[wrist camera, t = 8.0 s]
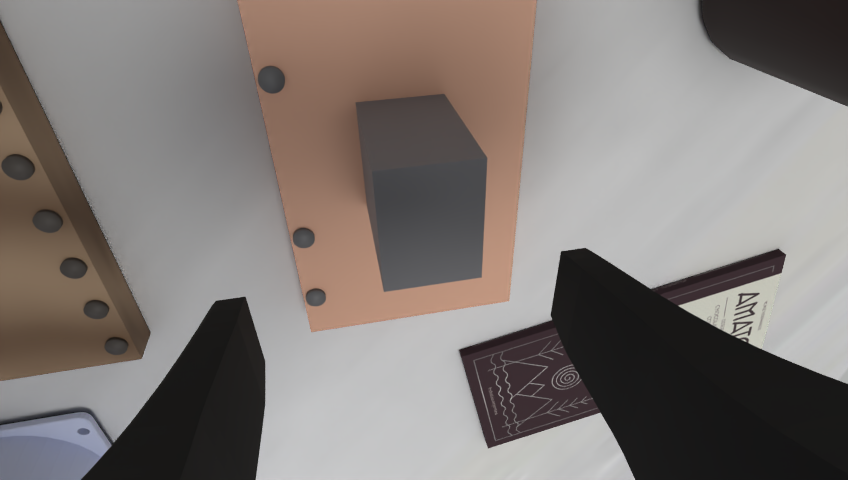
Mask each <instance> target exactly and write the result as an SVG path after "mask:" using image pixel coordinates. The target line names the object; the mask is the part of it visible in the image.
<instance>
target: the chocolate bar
mask: <svg viewBox="0 0 848 480" xmlns="http://www.w3.org/2000/svg"><path fill="white" fill-rule="evenodd" d="M785 257H786V254H784V253H783V252H782V251H780V250H779V249H777V250H774V251H771V252H768V253H765V254H761V255H758V256H755V257H752V258H749V259H746V260H742V261H739V262H736V263H733V264H730V265H727V266H723V267H720V268H717V269H714V270H711V271H708V272H704V273H701V274H698V275H695V276H692V277H688V278H685V279H682V280H679V281H676V282H673V283H669V284H666V285H663V286H660V287H657V288H654V289H651V290H653V291H655V292H656V293H658V294H659V295H661V296H663V297H664V298H666V299H668V300H669V301H671V302H673V303H674V304H676V305H678V306H679V307H681V308H683V309H684V310H686V311H688V312H690V313H692V314H693V315H695V316H697V317H699V318H701V319H702V320H704V321H706V322H708V323H709V324H711V325H713V326H715V327H717V328H719V329H721V330H723V331H725V332H727V333H729V334H731V335H733V336H735V337H737V338H739V339H741V340H743V341H745V342H747V343H749V344H751V345H754V346H756V347H758V348H760V349H762V347H763V343H764V339H765V335H766V331H767V327H768V323H769V319H770V316H771V312H772V308H773V304H774V300H775V296H776V292H777V288H778V284H779V280H780V276H781V273H782V269H783V265H784V261H785ZM459 351H460V354H461V358H462V361H463V364H464V368H465V371H466V375H467V378H468V382H469V385H470V388H471V392H472V395H473V399H474V402H475V406H476V409H477V412H478V416H479V419H480V423H481V426H482V430H483V433H484V437H485V440H486V443H487V446H488V448H491V447H494V446H497V445H500V444H503V443H506V442H509V441H513V440H516V439H519V438H522V437H525V436H528V435H531V434H535V433H538V432H541V431H544V430H547V429H550V428H553V427H557V426H560V425H563V424H566V423H569V422H572V421H575V420H579V419H582V418H585V417H588V416H591V415H594V414H597V413H601V412H600V410H599V409H598V407H597V405H596V404H595V402H594V400H593V398H592V397H591V395H590V393H589V392H588V390H587V388H586V387H585V385H584V383H583V381H582V380H581V378H580V376H579V374H578V373H577V371H576V369H575V367H574V366H573V364H572V362H571V360H570V359H569V357H568V355H567V353H566V351H565V349H564V347H563V344H562V342H561V340H560V337H559V335H558V332H557V330H556V327H555V325H554V322H553V320H552V321H549V322H546V323H543V324H540V325H536V326H533V327H530V328H527V329H524V330H521V331H517V332H514V333H511V334H508V335H505V336H502V337H498V338H495V339H492V340H489V341H486V342H483V343H479V344H476V345H473V346H470V347H467V348H464V349H460V350H459Z"/></svg>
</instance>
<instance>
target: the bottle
mask: <svg viewBox="0 0 848 480" xmlns="http://www.w3.org/2000/svg"><path fill="white" fill-rule="evenodd" d="M702 4H703V21H704V23H705V26H706V28H707V31H708V33H709V36H710V38H711V41H712V42H713V43H714V44H715V45H716V46H717V47H718V48H719V49H720V50H721V51H722V52H723V53H724V54H726V55H727V56H728V57H729V58H730V59H732V60H735V61H737V62H740V63H742V64H744V65H747V66H749V67H752V68H754V69H757V70H759V71H762V72H764V73H767V74H769V75H772V76H774V77H776V78H779V79H781V80H784V81H786V82H789V83H791V84H794V85H796V86H799V87H801V88H804V89H806V90H808V91H811V92H813V93H816V94H818V95H821V96H823V97H826V98H828V99H831V100H833V101H835V102H838V103H840V104H843V105H845V106H848V0H702Z"/></svg>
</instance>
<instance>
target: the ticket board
mask: <svg viewBox="0 0 848 480" xmlns="http://www.w3.org/2000/svg"><path fill="white" fill-rule="evenodd" d="M149 336H150V331H149V329H148V327H147V325H146V323H145V321H144V319H143V317H142V314H141V312H140V310H139V308H138V306H137V304H136V302H135V300H134V298H133V296H132V294H131V292H130V290H129V287H128V285H127V283H126V281H125V279H124V277H123V275H122V273H121V271H120V269H119V267H118V265H117V263H116V261H115V258H114V256H113V254H112V252H111V250H110V248H109V246H108V244H107V242H106V240H105V238H104V236H103V234H102V232H101V229H100V227H99V225H98V223H97V221H96V219H95V217H94V215H93V213H92V211H91V209H90V207H89V205H88V203H87V200H86V198H85V196H84V194H83V192H82V190H81V188H80V186H79V184H78V182H77V180H76V178H75V176H74V173H73V171H72V169H71V167H70V165H69V163H68V161H67V159H66V157H65V155H64V153H63V151H62V149H61V147H60V144H59V142H58V140H57V138H56V136H55V134H54V132H53V130H52V128H51V126H50V124H49V122H48V120H47V118H46V115H45V113H44V111H43V109H42V107H41V105H40V103H39V101H38V99H37V97H36V95H35V93H34V91H33V89H32V86H31V84H30V82H29V80H28V78H27V76H26V74H25V72H24V70H23V68H22V66H21V64H20V62H19V59H18V57H17V55H16V53H15V51H14V49H13V47H12V45H11V43H10V41H9V39H8V37H7V35H6V33H5V30H4V28H3V26H2V24H1V22H0V381H3V380H10V379H16V378H22V377H29V376H35V375H42V374H48V373H54V372H61V371H67V370H73V369H80V368H86V367H92V366H99V365H105V364H112V363H118V362H124V361H131V360H137V359H142V357H143V354H144V351H145V348H146V345H147V342H148V339H149Z"/></svg>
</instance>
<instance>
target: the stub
mask: <svg viewBox="0 0 848 480" xmlns="http://www.w3.org/2000/svg"><path fill="white" fill-rule="evenodd" d="M237 1H238V5H239V10H240V14H241V18H242V23H243V27H244V32H245V36H246V41H247V45H248V50H249V54H250V59H251V63H252V68H253V72H254V77H255V81H256V86H257V90H258V95H259V99H260V104H261V108H262V113H263V117H264V122H265V126H266V131H267V135H268V140H269V144H270V149H271V153H272V158H273V162H274V167H275V171H276V176H277V180H278V185H279V189H280V194H281V198H282V203H283V207H284V212H285V216H286V221H287V225H288V230H289V234H290V239H291V243H292V248H293V252H294V257H295V261H296V266H297V270H298V275H299V279H300V284H301V288H302V293H303V297H304V302H305V306H306V311H307V315H308V320H309V324H310V329H311V332H315V331H322V330H328V329H334V328H341V327H347V326H353V325H360V324H366V323H373V322H379V321H385V320H392V319H398V318H404V317H411V316H417V315H423V314H430V313H436V312H443V311H449V310H455V309H462V308H468V307H474V306H481V305H487V304H493V303H500V302H506V301H509V297H510V286H511V275H512V264H513V253H514V242H515V231H516V220H517V210H518V199H519V188H520V177H521V166H522V155H523V144H524V133H525V122H526V112H527V101H528V90H529V79H530V68H531V57H532V46H533V35H534V24H535V14H536V3H537V0H237Z"/></svg>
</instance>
